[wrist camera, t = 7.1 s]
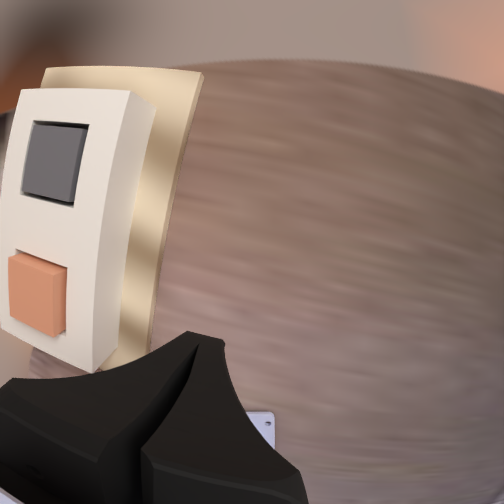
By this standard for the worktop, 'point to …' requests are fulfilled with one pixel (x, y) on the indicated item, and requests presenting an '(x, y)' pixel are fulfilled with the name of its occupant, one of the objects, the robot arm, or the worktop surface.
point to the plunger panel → (77, 214)
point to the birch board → (144, 185)
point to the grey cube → (54, 161)
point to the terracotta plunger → (37, 293)
